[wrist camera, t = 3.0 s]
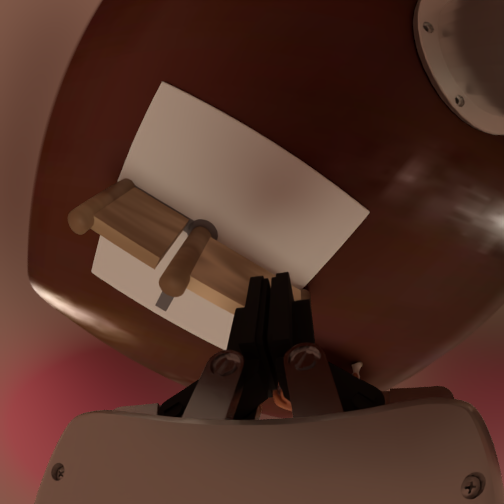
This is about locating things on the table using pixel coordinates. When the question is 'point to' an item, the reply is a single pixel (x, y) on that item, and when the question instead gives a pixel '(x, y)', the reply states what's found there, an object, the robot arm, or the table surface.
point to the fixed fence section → (130, 221)
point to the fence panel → (214, 272)
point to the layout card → (225, 206)
